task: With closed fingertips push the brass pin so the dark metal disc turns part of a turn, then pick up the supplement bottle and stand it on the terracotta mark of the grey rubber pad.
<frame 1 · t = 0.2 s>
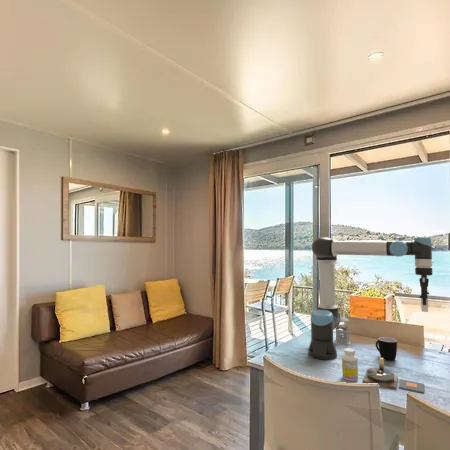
hand: (425, 309, 162), 28 cm above the table, tool pointing down, fingers open, 13 cm apart
mug: (385, 358, 171), on the table
pad: (411, 386, 137), on the table
supplement bottle: (350, 378, 145), on the table
french press: (343, 342, 199), on the table
sprocket base: (380, 380, 143), on the table
dark disc with post: (380, 369, 144), point 5 cm above the table, hinge at 0.0°
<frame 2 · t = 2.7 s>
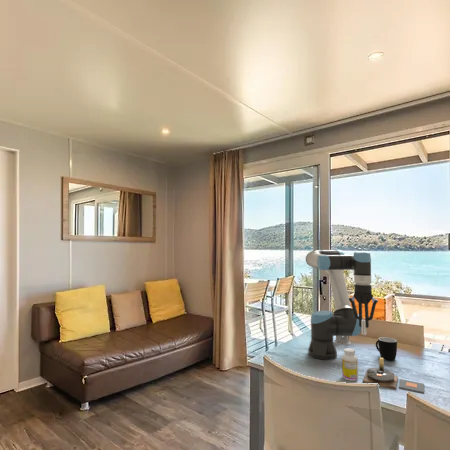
hand: (364, 334, 151), 18 cm above the table, tool pointing down, fingers closed
nothing on the table moved.
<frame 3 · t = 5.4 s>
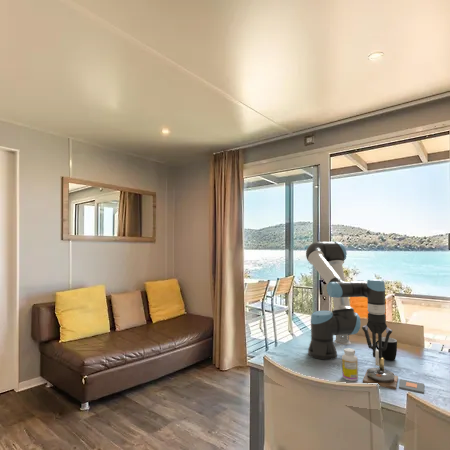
hand: (377, 364, 148), 5 cm above the table, tool pointing down, fingers closed
dark disc with post: (380, 369, 144), point 5 cm above the table, hinge at 1.1°, touching gripper
everything else where it was.
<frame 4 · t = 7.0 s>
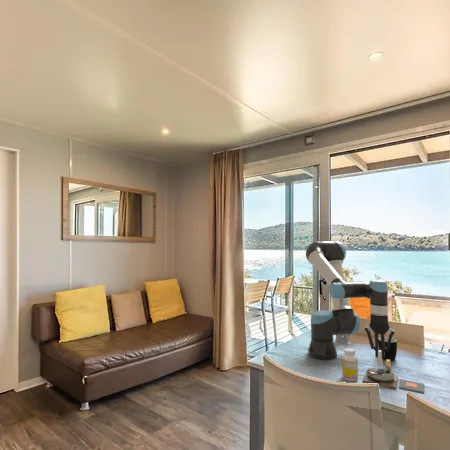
hand: (380, 365, 148), 5 cm above the table, tool pointing down, fingers closed
dark disc with post: (380, 369, 144), point 5 cm above the table, hinge at 39.7°
everything else where it was.
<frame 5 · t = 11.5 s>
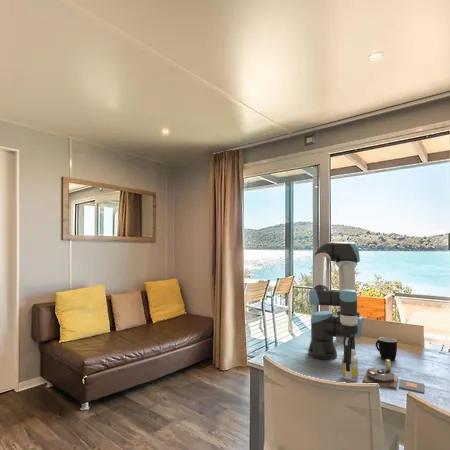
hand: (350, 375, 146), 2 cm above the table, tool pointing down, fingers closed on supplement bottle, 7 cm apart
supplement bottle: (350, 378, 145), on the table, touching gripper
everything else where it was.
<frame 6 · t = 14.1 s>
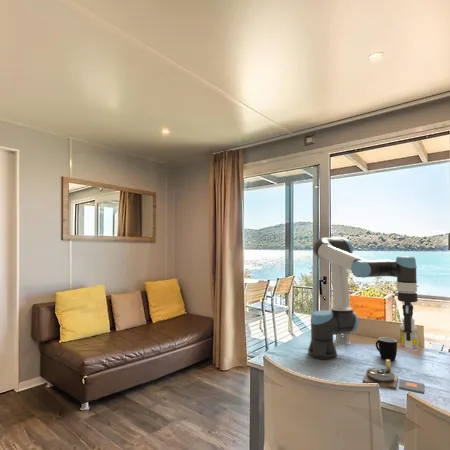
hand: (409, 345, 138), 17 cm above the table, tool pointing down, fingers closed on supplement bottle, 7 cm apart
supplement bottle: (409, 349, 138), point 16 cm above the table, touching gripper
everything else where it was.
when the fingers open (4 cm above the table, at t = 17.0 s): supplement bottle drops 1 cm, resting on pad.
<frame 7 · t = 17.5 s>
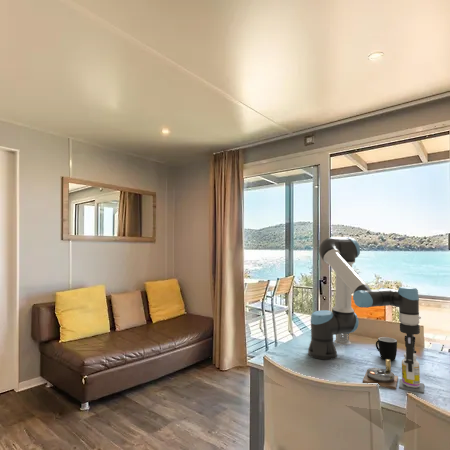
hand: (411, 373, 137), 5 cm above the table, tool pointing down, fingers open, 13 cm apart
supplement bottle: (411, 385, 137), point 1 cm above the table, touching pad
everything else where it was.
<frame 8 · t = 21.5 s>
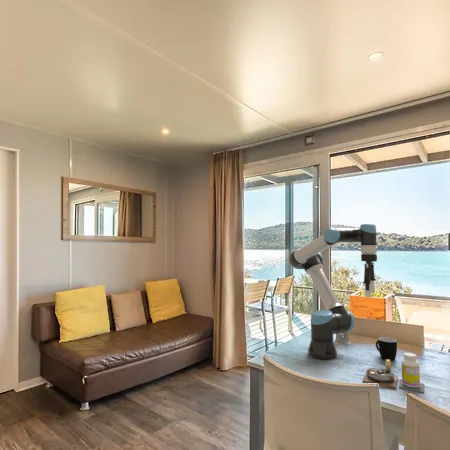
hand: (370, 295, 164), 35 cm above the table, tool pointing down, fingers open, 13 cm apart
nothing on the table moved.
at the end: dark disc with post at +40° (first picture: +0°); supplement bottle inside the target area on the pad (0.3 cm from its centre), point 0.5 cm above the pad's base; supplement bottle tilted 0° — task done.
